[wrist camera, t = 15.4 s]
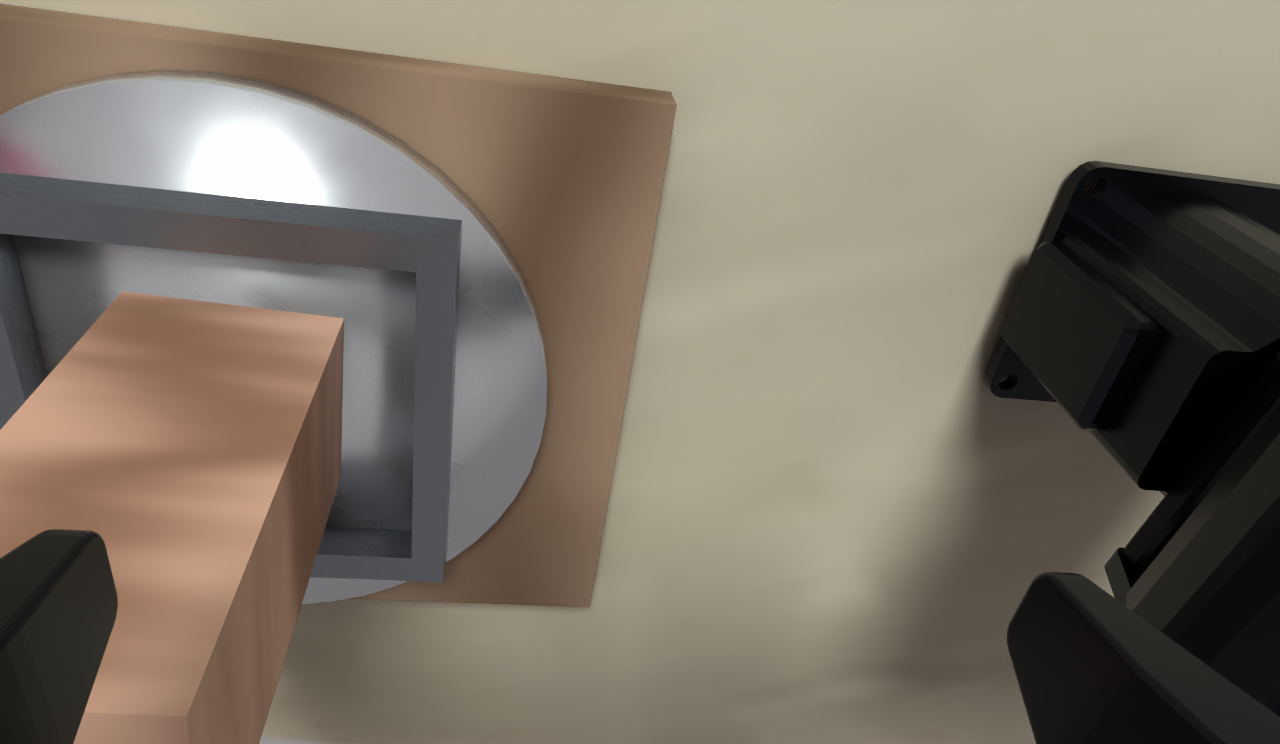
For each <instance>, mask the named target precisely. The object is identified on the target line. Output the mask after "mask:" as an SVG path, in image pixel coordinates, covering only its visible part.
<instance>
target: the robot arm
mask: <svg viewBox="0 0 1280 744" xmlns="http://www.w3.org/2000/svg"><path fill="white" fill-rule="evenodd" d="M1097 177H1098V181H1097V183H1096V185H1095V186H1094V188H1092V189H1090V190H1089V191H1085V190H1086V186H1087V184H1088V183H1089V182H1090V181H1091V180H1092V179H1094V178H1097ZM1009 374H1011V375H1010V376H1009V378H1008V379H1006V380H1005V381H1002V382H999V381H1000V380H1001V379H1002V377H1004V376H1006V375H1009ZM984 382H985V384H986V386H987V387H988V388H989V390H990V391H991V392H992V393H993V394H994V395H995V396H998V397H1001V398H1014V399H1026V400H1039V401H1052V402H1057V403H1058V404H1059V405H1060V406H1061V407H1062V408H1063V409H1064V411H1065V412H1066V413H1067V414H1068V415H1069V416H1070V418H1071V419H1072V420H1073V421H1074V422H1075V423H1076V425H1077V426H1078V427H1080V428H1081V429H1085V430H1089V431H1090V432H1091V433H1092V434H1093V435H1094V436H1095V437H1096V439H1097V440H1098V441H1099V442H1100V443H1101V444H1102V445H1103V447H1104V448H1105V449H1106V450H1107V451H1108V452H1109V453H1110V454H1111V456H1112V457H1113V458H1114V459H1115V460H1116V461H1117V462H1118V464H1119V465H1120V466H1121V467H1122V468H1123V469H1124V470H1125V472H1126V473H1127V474H1128V475H1129V476H1130V477H1131V478H1132V480H1133V481H1134V482H1135V483H1136V484H1137V485H1138V486H1139V488H1141V489H1144V490H1156V491H1160V492H1161V493H1162V494H1163V495H1164V496H1165V497H1164V498H1163V499H1162V501H1161V502H1160V503H1159V504H1158V506H1157V507H1156V508H1155V510H1154V511H1153V512H1152V513H1151V515H1150V516H1149V517H1148V518H1147V520H1146V521H1145V522H1144V524H1143V525H1142V526H1141V527H1140V529H1139V530H1138V531H1137V533H1136V534H1135V535H1134V536H1133V538H1132V539H1131V540H1130V542H1129V543H1128V544H1127V545H1126V547H1125V548H1118V549H1117V550H1116V552H1115V553H1114V554H1113V555H1112V557H1111V558H1110V559H1109V561H1108V562H1107V563H1106V564H1105V570H1106V573H1107V576H1108V579H1109V582H1110V585H1111V588H1112V591H1113V594H1114V597H1115V598H1114V597H1112V596H1111V595H1109V594H1108V593H1107V592H1105V591H1104V590H1102V589H1101V588H1100V587H1098V586H1097V585H1096V584H1094V583H1093V582H1091V581H1090V580H1089V579H1087V578H1085V577H1084V576H1082V575H1079V574H1075V573H1059V572H1044V573H1041V574H1039V575H1038V576H1036V577H1035V578H1034V580H1033V581H1032V583H1031V584H1030V586H1029V588H1028V590H1027V592H1026V593H1025V595H1024V597H1023V599H1022V601H1021V603H1020V604H1019V606H1018V608H1017V610H1016V612H1015V614H1014V615H1013V617H1012V619H1011V621H1010V623H1009V626H1008V630H1007V644H1008V649H1009V653H1010V657H1011V660H1012V663H1013V667H1014V670H1015V673H1016V677H1017V680H1018V684H1019V687H1020V690H1021V694H1022V697H1023V700H1024V704H1025V707H1026V711H1027V714H1028V717H1029V721H1030V724H1031V728H1032V731H1033V734H1034V738H1035V741H1036V744H1280V185H1278V184H1270V183H1262V182H1255V181H1247V180H1239V179H1231V178H1224V177H1216V176H1208V175H1200V174H1193V173H1185V172H1177V171H1169V170H1161V169H1154V168H1146V167H1138V166H1130V165H1123V164H1115V163H1107V162H1099V161H1091V162H1087V163H1084V164H1082V165H1080V166H1079V167H1078V168H1076V169H1075V170H1074V171H1073V172H1072V174H1071V176H1070V177H1069V179H1068V181H1067V183H1066V185H1065V188H1064V190H1063V192H1062V195H1061V197H1060V199H1059V202H1058V204H1057V206H1056V209H1055V211H1054V213H1053V216H1052V218H1051V220H1050V223H1049V225H1048V227H1047V230H1046V232H1045V234H1044V237H1043V239H1042V241H1041V244H1040V246H1039V247H1038V248H1037V249H1036V250H1035V252H1034V254H1033V257H1032V259H1031V261H1030V264H1029V266H1028V268H1027V271H1026V273H1025V275H1024V278H1023V280H1022V282H1021V285H1020V287H1019V289H1018V292H1017V294H1016V296H1015V299H1014V301H1013V303H1012V306H1011V308H1010V310H1009V313H1008V315H1007V317H1006V320H1005V322H1004V324H1003V327H1002V329H1001V336H1000V339H999V341H998V343H997V346H996V348H995V350H994V353H993V355H992V357H991V360H990V362H989V364H988V366H987V369H986V371H985V374H984ZM117 608H118V597H117V591H116V587H115V583H114V579H113V574H112V570H111V566H110V562H109V558H108V554H107V550H106V546H105V543H104V540H103V538H102V537H101V536H100V534H98V533H97V532H94V531H90V530H67V529H50V530H46V531H43V532H41V533H39V534H37V535H35V536H34V537H32V538H31V539H29V540H28V541H26V542H24V543H23V544H21V545H20V546H18V547H17V548H15V549H14V550H12V551H10V552H9V553H7V554H6V555H4V556H3V557H1V558H0V744H74V741H75V738H76V735H77V732H78V729H79V726H80V723H81V720H82V717H83V714H84V711H85V709H86V706H87V703H88V700H89V697H90V694H91V691H92V688H93V685H94V682H95V679H96V676H97V673H98V670H99V668H100V665H101V662H102V659H103V656H104V653H105V650H106V647H107V644H108V641H109V638H110V635H111V632H112V629H113V627H114V623H115V620H116V615H117Z"/></svg>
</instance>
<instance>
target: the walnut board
mask: <svg viewBox="0 0 1280 744" xmlns="http://www.w3.org/2000/svg"><path fill="white" fill-rule="evenodd" d="M166 69H171V70H187V71H204V72H219V73H224V74H230V75H235V76H240V77H246V78H251V79H256V80H262V81H267V82H271V83H274V84H277V85H280V86H284V87H287V88H290V89H293V90H297V91H300V92H303V93H306V94H309V95H313V96H316V97H318V98H321V99H323V100H325V101H327V102H330V103H332V104H334V105H336V106H339V107H341V108H343V109H345V110H348V111H350V112H352V113H354V114H357V115H359V116H361V117H363V118H365V119H367V120H368V121H370V122H372V123H373V124H375V125H377V126H378V127H380V128H382V129H384V130H385V131H387V132H389V133H390V134H392V135H394V136H395V137H397V138H399V139H401V140H402V141H404V142H405V143H407V144H408V145H409V146H411V147H412V148H413V149H414V150H416V151H417V152H418V153H420V154H421V155H422V156H424V157H425V158H426V159H428V160H429V161H430V162H432V163H433V164H434V165H436V166H437V167H438V168H440V169H441V170H442V171H443V172H444V173H445V174H446V175H447V176H448V177H449V178H450V179H451V180H452V181H453V182H454V183H455V184H456V185H458V186H459V187H460V188H461V189H462V190H463V191H464V192H465V193H466V194H467V195H468V196H469V197H470V198H471V199H472V200H473V201H474V202H475V204H476V205H477V206H478V207H479V209H480V210H481V211H482V212H483V213H484V215H485V216H486V217H487V218H488V220H489V221H490V222H491V223H492V225H493V226H494V227H495V228H496V229H497V231H498V232H499V234H500V235H501V237H502V238H503V240H504V242H505V243H506V245H507V247H508V248H509V250H510V251H511V253H512V255H513V256H514V258H515V260H516V261H517V263H518V264H519V266H520V269H521V271H522V273H523V275H524V278H525V280H526V282H527V284H528V287H529V289H530V291H531V293H532V296H533V298H534V301H535V305H536V308H537V312H538V315H539V319H540V322H541V326H542V330H543V334H544V343H545V351H546V359H547V405H546V418H545V423H544V428H543V433H542V438H541V443H540V446H539V449H538V452H537V454H536V457H535V460H534V462H533V465H532V468H531V470H530V473H529V474H528V476H527V478H526V480H525V482H524V483H523V485H522V487H521V489H520V491H519V492H518V494H517V496H516V498H515V499H514V500H513V501H512V503H511V504H510V505H509V507H508V508H507V509H506V510H505V512H504V513H503V514H502V516H501V517H500V518H499V519H498V521H497V522H495V523H494V524H493V525H492V526H491V527H490V528H489V529H488V530H487V531H486V532H485V533H484V534H483V535H482V536H481V537H480V538H479V539H478V540H477V541H476V542H474V543H473V544H472V545H470V546H469V547H467V548H466V549H465V550H463V551H462V552H461V553H459V554H458V555H457V556H455V557H454V558H452V559H451V560H449V561H447V562H446V564H445V572H444V579H443V582H423V581H407V582H405V583H402V584H400V585H397V586H394V587H391V588H388V589H385V590H381V591H378V592H375V593H371V594H368V595H364V596H359V597H354V598H349V599H377V600H406V601H435V602H463V603H492V604H521V605H549V606H578V607H590V603H591V597H592V591H593V585H594V580H595V574H596V568H597V562H598V556H599V551H600V545H601V539H602V533H603V528H604V522H605V516H606V510H607V504H608V499H609V493H610V487H611V481H612V475H613V470H614V464H615V458H616V452H617V447H618V441H619V435H620V429H621V423H622V418H623V412H624V406H625V400H626V395H627V389H628V383H629V377H630V371H631V366H632V360H633V354H634V348H635V343H636V337H637V331H638V325H639V319H640V314H641V308H642V302H643V296H644V290H645V285H646V279H647V273H648V267H649V262H650V256H651V250H652V244H653V238H654V233H655V227H656V221H657V215H658V210H659V204H660V198H661V192H662V186H663V181H664V175H665V169H666V163H667V157H668V152H669V146H670V140H671V134H672V129H673V123H674V117H675V111H676V103H675V101H674V98H673V96H672V94H671V92H666V91H659V90H651V89H643V88H636V87H628V86H621V85H613V84H605V83H598V82H590V81H583V80H575V79H567V78H560V77H552V76H545V75H537V74H529V73H522V72H514V71H506V70H499V69H491V68H484V67H476V66H468V65H461V64H453V63H446V62H438V61H430V60H423V59H415V58H408V57H400V56H392V55H385V54H377V53H369V52H362V51H354V50H347V49H339V48H331V47H324V46H316V45H309V44H301V43H293V42H286V41H278V40H271V39H263V38H255V37H248V36H240V35H232V34H225V33H217V32H210V31H202V30H194V29H187V28H179V27H172V26H164V25H156V24H149V23H141V22H133V21H126V20H118V19H111V18H103V17H95V16H88V15H80V14H73V13H65V12H57V11H50V10H42V9H35V8H27V7H19V6H12V5H4V4H0V115H2V114H4V113H6V112H7V111H9V110H11V109H13V108H14V107H16V106H18V105H20V104H21V103H23V102H25V101H27V100H29V99H30V98H33V97H35V96H38V95H41V94H43V93H46V92H49V91H51V90H54V89H57V88H59V87H62V86H65V85H67V84H70V83H73V82H77V81H82V80H87V79H91V78H96V77H101V76H106V75H111V74H115V73H121V72H136V71H151V70H166Z"/></svg>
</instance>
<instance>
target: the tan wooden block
mask: <svg viewBox="0 0 1280 744" xmlns="http://www.w3.org/2000/svg"><path fill="white" fill-rule="evenodd" d="M343 349H344V318H336V317H328V316H320V315H312V314H303V313H295V312H287V311H279V310H270V309H262V308H254V307H246V306H238V305H229V304H221V303H213V302H205V301H197V300H188V299H180V298H172V297H164V296H155V295H147V294H139V293H131V292H123V291H122V292H121V293H120V294H119V295H118V296H117V298H116V299H115V300H114V301H113V302H112V303H111V304H110V306H109V307H108V308H107V309H106V310H105V311H104V312H103V314H102V315H101V316H100V317H99V318H98V319H97V320H96V322H95V323H94V324H93V325H92V326H91V327H90V328H89V330H88V331H87V332H86V333H85V334H84V335H83V336H82V337H81V339H80V340H79V341H78V342H77V343H76V344H75V345H74V347H73V348H72V349H71V350H70V351H69V352H68V353H67V355H66V356H65V357H64V358H63V359H62V360H61V361H60V363H59V364H58V365H57V366H56V367H55V368H54V369H53V371H52V372H51V373H50V374H49V375H48V376H47V377H46V379H45V380H44V381H43V382H42V383H41V384H40V385H39V387H38V388H37V389H36V390H35V391H34V392H33V393H32V394H31V396H30V397H29V398H28V399H27V400H26V401H25V402H24V404H23V405H22V406H21V407H20V408H19V409H18V410H17V412H16V413H15V414H14V415H13V416H12V417H11V418H10V420H9V421H8V422H7V423H6V424H5V425H4V426H3V428H2V429H1V430H0V558H1V557H3V556H4V555H6V554H7V553H9V552H10V551H12V550H14V549H15V548H17V547H18V546H20V545H21V544H23V543H24V542H26V541H28V540H29V539H31V538H32V537H34V536H35V535H37V534H39V533H41V532H43V531H46V530H50V529H67V530H90V531H94V532H97V533H98V534H100V536H101V537H102V538H103V540H104V543H105V546H106V550H107V554H108V558H109V562H110V566H111V570H112V574H113V579H114V583H115V587H116V591H117V597H118V608H117V615H116V620H115V623H114V627H113V629H112V632H111V635H110V638H109V641H108V644H107V647H106V650H105V653H104V656H103V659H102V662H101V665H100V668H99V670H98V673H97V676H96V679H95V682H94V685H93V688H92V691H91V694H90V697H89V700H88V703H87V706H86V709H85V711H84V714H83V717H82V720H81V723H80V726H79V729H78V732H77V735H76V738H75V741H74V744H259V742H260V738H261V735H262V732H263V729H264V725H265V722H266V719H267V716H268V712H269V709H270V706H271V703H272V699H273V696H274V693H275V690H276V686H277V683H278V680H279V676H280V673H281V670H282V667H283V663H284V660H285V657H286V654H287V650H288V647H289V644H290V641H291V637H292V634H293V631H294V628H295V624H296V621H297V618H298V615H299V611H300V608H301V605H302V601H303V598H304V595H305V592H306V588H307V585H308V582H309V579H310V575H311V572H312V569H313V566H314V562H315V559H316V556H317V553H318V549H319V546H320V543H321V539H322V536H323V533H324V530H325V526H326V523H327V520H328V517H329V513H330V510H331V507H332V504H333V500H334V497H335V494H336V491H337V487H338V484H339V481H340V478H341V449H342V399H343Z"/></svg>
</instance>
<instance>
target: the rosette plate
mask: <svg viewBox="0 0 1280 744" xmlns="http://www.w3.org/2000/svg"><path fill="white" fill-rule="evenodd" d="M122 291H123V292H131V293H139V294H147V295H155V296H164V297H172V298H180V299H188V300H197V301H205V302H213V303H221V304H229V305H238V306H246V307H254V308H262V309H270V310H279V311H287V312H295V313H303V314H312V315H320V316H328V317H336V318H344V349H343V399H342V449H341V478H340V481H339V484H338V487H337V491H336V494H335V497H334V500H333V504H332V507H331V510H330V513H329V517H328V520H327V523H326V526H325V530H324V533H323V536H322V539H321V543H320V546H319V549H318V553H317V556H316V559H315V562H314V566H313V569H312V572H311V575H310V579H309V582H308V585H307V588H306V592H305V595H304V598H303V601H302V605H304V604H314V603H324V602H333V601H338V600H344V599H349V598H354V597H359V596H364V595H368V594H371V593H375V592H378V591H381V590H385V589H388V588H391V587H394V586H397V585H400V584H402V583H405V582H407V581H423V582H443V579H444V572H445V564H446V562H447V561H449V560H451V559H452V558H454V557H455V556H457V555H458V554H459V553H461V552H462V551H463V550H465V549H466V548H467V547H469V546H470V545H472V544H473V543H474V542H476V541H477V540H478V539H479V538H480V537H481V536H482V535H483V534H484V533H485V532H486V531H487V530H488V529H489V528H490V527H491V526H492V525H493V524H494V523H495V522H497V521H498V519H499V518H500V517H501V516H502V514H503V513H504V512H505V510H506V509H507V508H508V507H509V505H510V504H511V503H512V501H513V500H514V499H515V498H516V496H517V494H518V492H519V491H520V489H521V487H522V485H523V483H524V482H525V480H526V478H527V476H528V474H529V473H530V470H531V468H532V465H533V462H534V460H535V457H536V454H537V452H538V449H539V446H540V443H541V438H542V433H543V428H544V423H545V418H546V405H547V359H546V351H545V343H544V334H543V330H542V326H541V322H540V319H539V315H538V312H537V308H536V305H535V301H534V298H533V296H532V293H531V291H530V289H529V287H528V284H527V282H526V280H525V278H524V275H523V273H522V271H521V269H520V266H519V264H518V263H517V261H516V260H515V258H514V256H513V255H512V253H511V251H510V250H509V248H508V247H507V245H506V243H505V242H504V240H503V238H502V237H501V235H500V234H499V232H498V231H497V229H496V228H495V227H494V226H493V225H492V223H491V222H490V221H489V220H488V218H487V217H486V216H485V215H484V213H483V212H482V211H481V210H480V209H479V207H478V206H477V205H476V204H475V202H474V201H473V200H472V199H471V198H470V197H469V196H468V195H467V194H466V193H465V192H464V191H463V190H462V189H461V188H460V187H459V186H458V185H456V184H455V183H454V182H453V181H452V180H451V179H450V178H449V177H448V176H447V175H446V174H445V173H444V172H443V171H442V170H441V169H440V168H438V167H437V166H436V165H434V164H433V163H432V162H430V161H429V160H428V159H426V158H425V157H424V156H422V155H421V154H420V153H418V152H417V151H416V150H414V149H413V148H412V147H411V146H409V145H408V144H407V143H405V142H404V141H402V140H401V139H399V138H397V137H395V136H394V135H392V134H390V133H389V132H387V131H385V130H384V129H382V128H380V127H378V126H377V125H375V124H373V123H372V122H370V121H368V120H367V119H365V118H363V117H361V116H359V115H357V114H354V113H352V112H350V111H348V110H345V109H343V108H341V107H339V106H336V105H334V104H332V103H330V102H327V101H325V100H323V99H321V98H318V97H316V96H313V95H309V94H306V93H303V92H300V91H297V90H293V89H290V88H287V87H284V86H280V85H277V84H274V83H271V82H267V81H262V80H256V79H251V78H246V77H240V76H235V75H230V74H224V73H219V72H204V71H187V70H171V69H166V70H151V71H136V72H121V73H115V74H111V75H106V76H101V77H96V78H91V79H87V80H82V81H77V82H73V83H70V84H67V85H65V86H62V87H59V88H57V89H54V90H51V91H49V92H46V93H43V94H41V95H38V96H35V97H33V98H30V99H29V100H27V101H25V102H23V103H21V104H20V105H18V106H16V107H14V108H13V109H11V110H9V111H7V112H6V113H4V114H2V115H0V430H1V429H2V428H3V426H4V425H5V424H6V423H7V422H8V421H9V420H10V418H11V417H12V416H13V415H14V414H15V413H16V412H17V410H18V409H19V408H20V407H21V406H22V405H23V404H24V402H25V401H26V400H27V399H28V398H29V397H30V396H31V394H32V393H33V392H34V391H35V390H36V389H37V388H38V387H39V385H40V384H41V383H42V382H43V381H44V380H45V379H46V377H47V376H48V375H49V374H50V373H51V372H52V371H53V369H54V368H55V367H56V366H57V365H58V364H59V363H60V361H61V360H62V359H63V358H64V357H65V356H66V355H67V353H68V352H69V351H70V350H71V349H72V348H73V347H74V345H75V344H76V343H77V342H78V341H79V340H80V339H81V337H82V336H83V335H84V334H85V333H86V332H87V331H88V330H89V328H90V327H91V326H92V325H93V324H94V323H95V322H96V320H97V319H98V318H99V317H100V316H101V315H102V314H103V312H104V311H105V310H106V309H107V308H108V307H109V306H110V304H111V303H112V302H113V301H114V300H115V299H116V298H117V296H118V295H119V294H120V293H121V292H122Z"/></svg>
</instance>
